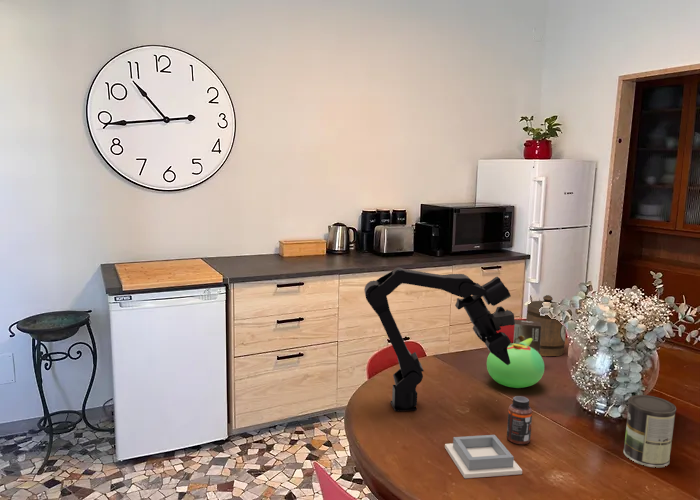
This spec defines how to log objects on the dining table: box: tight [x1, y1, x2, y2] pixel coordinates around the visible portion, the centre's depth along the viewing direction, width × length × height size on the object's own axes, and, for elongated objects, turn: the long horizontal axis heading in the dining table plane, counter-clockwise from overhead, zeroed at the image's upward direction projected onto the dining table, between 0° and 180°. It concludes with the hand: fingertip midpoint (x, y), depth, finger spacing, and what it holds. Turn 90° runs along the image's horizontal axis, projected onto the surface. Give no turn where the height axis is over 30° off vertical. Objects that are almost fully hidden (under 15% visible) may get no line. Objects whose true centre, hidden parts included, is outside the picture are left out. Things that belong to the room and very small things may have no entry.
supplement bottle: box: [506, 395, 533, 445], centre depth 144 cm, size 6×6×11 cm
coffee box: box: [513, 319, 541, 354], centre depth 198 cm, size 9×6×16 cm
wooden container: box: [525, 294, 567, 357], centre depth 214 cm, size 15×15×22 cm
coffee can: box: [622, 394, 677, 469], centre depth 137 cm, size 10×10×14 cm
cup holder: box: [444, 434, 523, 479], centre depth 134 cm, size 14×14×4 cm
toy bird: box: [486, 338, 545, 389], centre depth 180 cm, size 18×17×15 cm
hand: (504, 358), depth 162 cm, fingers open, 9 cm apart
